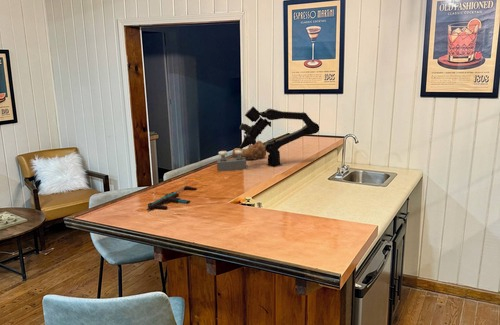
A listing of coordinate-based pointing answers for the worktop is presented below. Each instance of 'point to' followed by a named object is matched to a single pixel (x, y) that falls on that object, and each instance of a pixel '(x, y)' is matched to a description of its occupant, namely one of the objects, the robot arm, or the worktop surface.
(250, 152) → the brown rough lump
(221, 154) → the knob
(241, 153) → the knob
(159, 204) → the gun
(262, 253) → the worktop surface
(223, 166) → the knob mount
